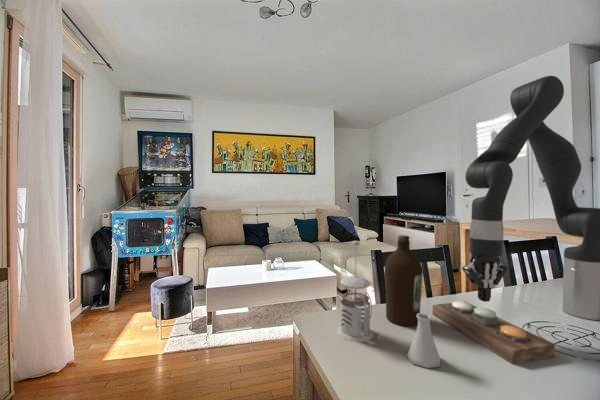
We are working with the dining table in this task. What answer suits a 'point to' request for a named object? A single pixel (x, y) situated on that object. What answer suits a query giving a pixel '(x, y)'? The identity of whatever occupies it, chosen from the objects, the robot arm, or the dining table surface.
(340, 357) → the dining table surface
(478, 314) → the button sage
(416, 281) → the olive oil
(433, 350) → the flask
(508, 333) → the button orange
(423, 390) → the dining table surface
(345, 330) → the french press
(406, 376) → the dining table surface
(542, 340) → the console
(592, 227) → the robot arm
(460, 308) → the button cream
